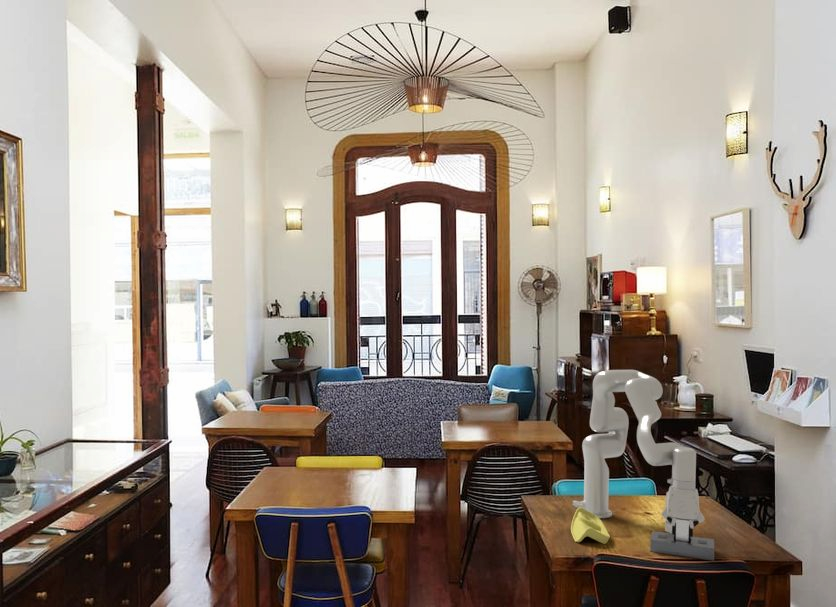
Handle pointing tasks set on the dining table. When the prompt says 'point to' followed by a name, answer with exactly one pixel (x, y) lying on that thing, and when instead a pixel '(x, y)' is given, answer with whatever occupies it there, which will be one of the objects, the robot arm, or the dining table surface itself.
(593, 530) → the plastic component
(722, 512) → the dining table surface
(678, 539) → the steel peg
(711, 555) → the grey slotted block
